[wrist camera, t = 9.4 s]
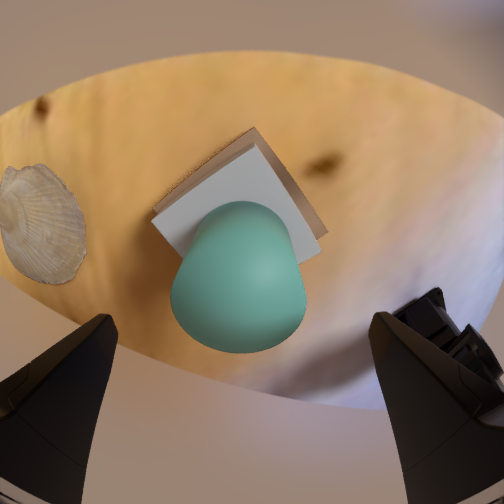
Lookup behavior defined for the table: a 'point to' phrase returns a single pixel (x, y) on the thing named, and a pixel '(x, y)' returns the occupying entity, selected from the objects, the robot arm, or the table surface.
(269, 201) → the grey block
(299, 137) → the table surface
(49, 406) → the robot arm
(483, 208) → the table surface
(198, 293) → the teal cylinder
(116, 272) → the table surface
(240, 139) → the walnut base
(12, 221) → the seashell
